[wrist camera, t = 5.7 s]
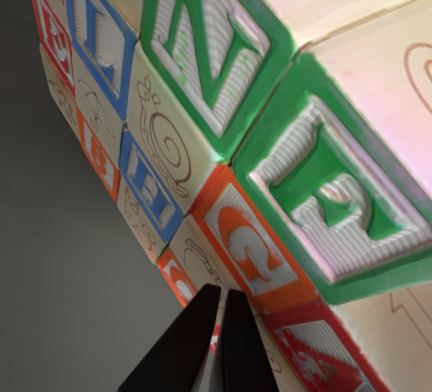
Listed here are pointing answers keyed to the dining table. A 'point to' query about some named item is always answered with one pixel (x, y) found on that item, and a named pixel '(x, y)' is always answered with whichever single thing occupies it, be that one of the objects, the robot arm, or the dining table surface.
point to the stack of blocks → (269, 165)
